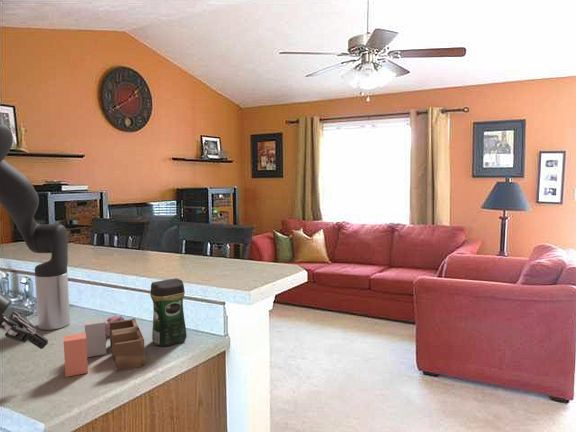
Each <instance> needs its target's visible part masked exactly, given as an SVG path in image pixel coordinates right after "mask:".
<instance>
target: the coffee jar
mask: <svg viewBox="0 0 576 432" xmlns="http://www.w3.org/2000/svg"><path fill="white" fill-rule="evenodd" d="M184 286H185V284H184V281H183V280H181V279H180V278H177V277H176V278H175V277H174V278H170V279H163V280H158V281H152V282H151V284H150V294H149V295H150V298H151V300H152V306H153V317H152V332H151V338H152V339H151V340H152V342H153V343H154V344H155V345H156V346H161V347H165V346H167V347H168V346H170V345H174V344H178V343H181V342H184V341H185V340H186V339H187V337H188V335H187V328H186V320H185V313H184V297H185V291H186V290H185V287H184Z"/></svg>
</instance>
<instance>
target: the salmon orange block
mask: <svg viewBox="0 0 576 432" xmlns="http://www.w3.org/2000/svg"><path fill="white" fill-rule="evenodd" d="M63 352H64V353H63V354H64V357H63V358H64V371H65V372H64V373H65V374H64V375H65V377H66V378H67V377H71V376H72V377H73V376H78V375H83V374H88V373H89V366H88V357H87V344H86V333H85V332H83V333H75V334H69V335H64V336H63Z"/></svg>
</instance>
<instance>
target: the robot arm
mask: <svg viewBox="0 0 576 432" xmlns="http://www.w3.org/2000/svg"><path fill="white" fill-rule="evenodd" d="M13 138H14V137H13V133H12V130H11V129H10V128H9V126H7V125H6V124H5V123H2V122H0V204H1V206H2V207H3V209H4V210H5V211H6V212H7V214H8V215H9V217H10V218H11V219H12V221H13V223H14V224H15V225H16V228H17V229H18V231H19V233H20V235H21V238H22V239H23V240H24V242H25V244H26V247H27V248H28V250H30V251H31V253H35V254H51V257H50V259H49V260H48V261H45V262H42V263H40V264H38V265H36V266H35V267H34V280H35V295H36V296H35V297H36V310H37V327H38V329H39V330H44V331H46V330H50V331H51V330H57V329H58V330H59V329H62V328H65V327H67V326H69V325H70V324H71V316H70V315H71V314H70V298H69V295H70V294H69V281H68V279H69V277H68V265H69V264H68V262H69V261H68V260H69V257H68V256H69V255H68V253H69V252H68V251H69V250H68V243H69V241H68V240H69V239H68V238H69V237H68V231H67V228H66V226H65V225H63V224H61V223H60V224H56V223H54V224H53V223H51V224H48V223H47V224H46V223H45V224H44V223H43V224H41V223H38V222H37V221H36V218H35V214H36V212H37V210H38V207H39V203H40V198H39V194H38V192H37V191H36V190H35V189H36V188H34V186H33V184H32V183H31V181H30V179H28V177H27V176H26V175H24V174H23V173H22V172H21V171H20V170H18V169H17V168H16V167H14V166H12V164H10V163H9V162H7V161H6V160H5V158H6V157H7V155H8V154H9V152H10V150H11V149H12V146H13V143H14V142H13V141H14V139H13ZM11 303H12V301H11V299H9V298H8V297H7V296H5V295H4V294H3V293H1V292H0V330H1V331H2V332H4V336H5V337H6V338H9V339H12V340H15V341H18V342H21V343H26V342H29V343H31V345H34V346H35V347H37V348H38V349H40V350H43V349H45V348H46V346H47V345H48V344H49V339H47V338H46V337H44V336H43V335H42V334H41V333H38V332H37V329H36V328H35V326H34V324H32V322H30V320H28V319H27V317H25V315H24V314H22V312H20V311H15V310H14V311H13V310H11V309H9V306H10V305H11Z"/></svg>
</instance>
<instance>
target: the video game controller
mask: <svg viewBox="0 0 576 432" xmlns="http://www.w3.org/2000/svg"><path fill="white" fill-rule="evenodd" d="M122 320H125V317H123V316H121V315H119V314H116V315H112V316H109V317H108V318H107V319H106V320H104V321H105V334H106V338H110V325H109V322H115V321H122Z"/></svg>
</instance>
